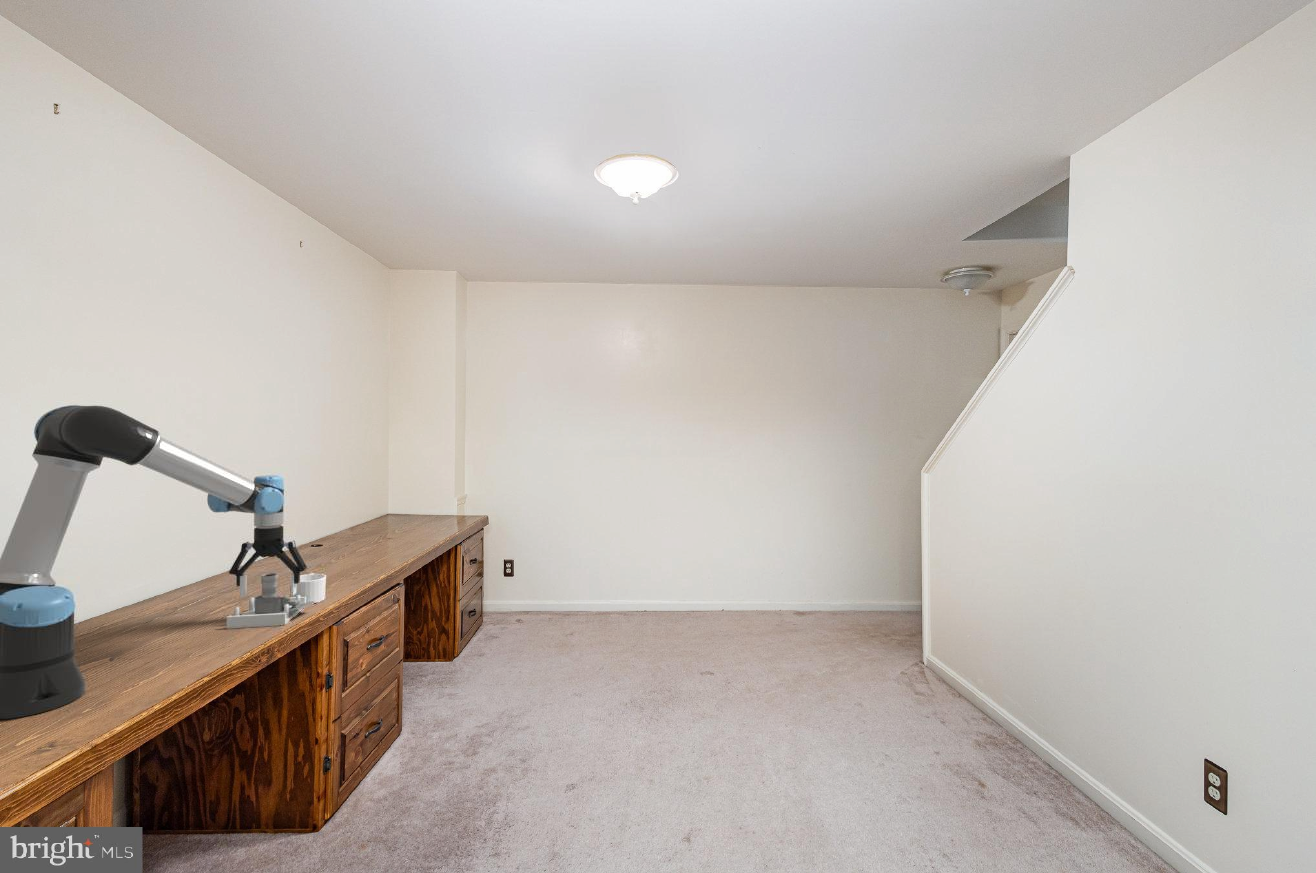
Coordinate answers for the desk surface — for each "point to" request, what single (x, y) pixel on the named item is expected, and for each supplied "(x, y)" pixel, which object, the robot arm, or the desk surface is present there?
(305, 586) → the mug
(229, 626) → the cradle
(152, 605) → the desk surface
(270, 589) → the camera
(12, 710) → the robot arm
